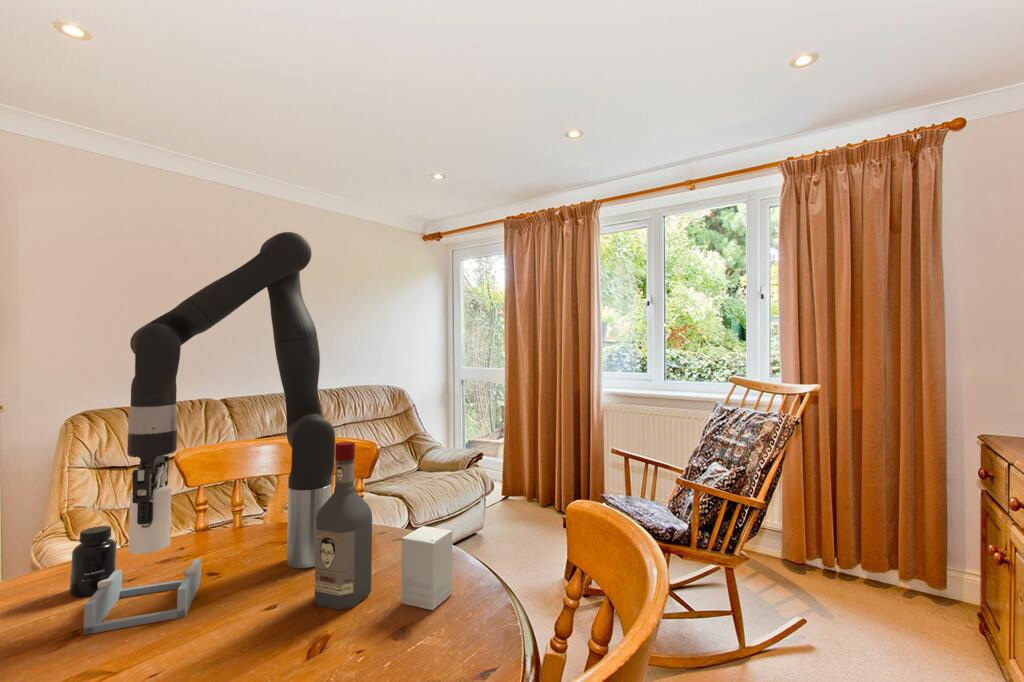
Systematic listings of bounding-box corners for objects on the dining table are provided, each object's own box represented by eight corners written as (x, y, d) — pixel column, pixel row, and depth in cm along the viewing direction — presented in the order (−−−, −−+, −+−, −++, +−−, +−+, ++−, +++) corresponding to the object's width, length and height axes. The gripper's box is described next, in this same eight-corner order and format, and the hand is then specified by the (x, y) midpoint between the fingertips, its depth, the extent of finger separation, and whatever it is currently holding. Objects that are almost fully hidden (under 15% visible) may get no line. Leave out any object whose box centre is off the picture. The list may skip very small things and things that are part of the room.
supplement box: (453, 594, 95) (454, 530, 95) (432, 612, 88) (432, 543, 88) (422, 587, 98) (423, 524, 98) (399, 604, 91) (400, 537, 92)
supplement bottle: (88, 600, 92) (90, 537, 93) (60, 596, 94) (62, 534, 94) (124, 583, 99) (125, 525, 99) (97, 580, 100) (99, 522, 101)
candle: (124, 557, 86) (126, 473, 87) (133, 544, 92) (135, 466, 92) (166, 550, 89) (168, 469, 89) (172, 538, 95) (174, 462, 95)
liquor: (339, 583, 99) (341, 438, 100) (377, 590, 96) (378, 440, 97) (307, 605, 91) (309, 445, 92) (347, 613, 88) (349, 449, 89)
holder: (202, 582, 100) (203, 554, 100) (187, 616, 87) (188, 583, 87) (111, 596, 93) (112, 566, 94) (80, 635, 81) (81, 600, 81)
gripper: (166, 433, 86) (164, 527, 86) (185, 423, 99) (183, 504, 99) (114, 436, 83) (112, 533, 83) (140, 425, 96) (138, 508, 96)
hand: (150, 517), depth 91 cm, fingers closed on candle, 6 cm apart
